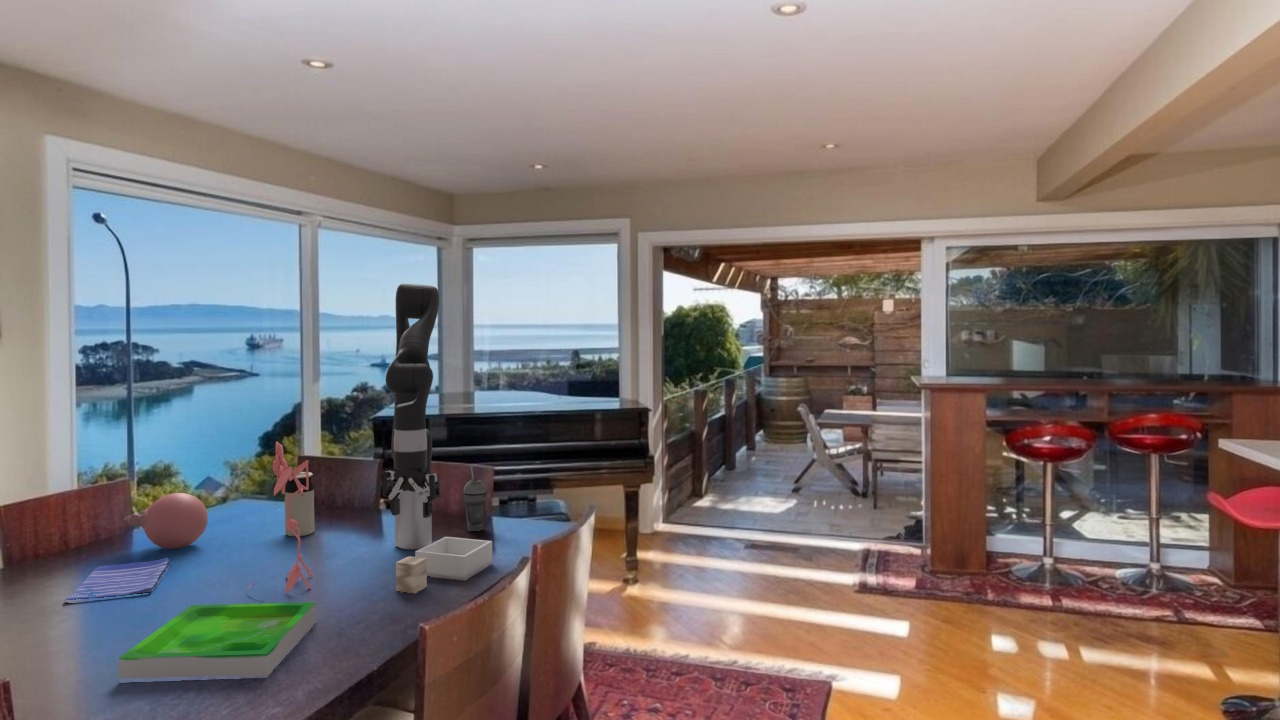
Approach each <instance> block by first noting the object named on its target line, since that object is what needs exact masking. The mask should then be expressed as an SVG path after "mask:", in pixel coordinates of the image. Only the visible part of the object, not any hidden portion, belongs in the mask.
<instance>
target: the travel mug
mask: <svg viewBox="0 0 1280 720" xmlns="http://www.w3.org/2000/svg"><path fill="white" fill-rule="evenodd" d="M313 475H314V473H312V472H310V471H308V479H309V488H308V490H306V489H304V490H303V496H301V494H300V492H298V493H296V494H295V495H294V496H292V497H291V498H289V508H290V519H294V520H296V521H297V523H298V527H297V528H299V529H300V537H306V536H309V535H312V534H313V533H314V532H315V488H314V487H315V486H314V482H313V480H312V478H313ZM289 478H290V477H289ZM296 478H297V479H298V480H299V482H300V483H301V485H302V486H305V487H306V471H301V472H300V473H299V474H298V475H297V476H296ZM297 490H299V489H298V487H297V485H296V482H295V480H294V479H292V480H291V481H289V479H288V481H287V482H286V484H285V493H284V511H285V512H284V515H285V516H284V524H285V525H284V527H285V528H284V530H285V533H284V534H285V535H286V536H288V537H293V538H295V537H296V536H295V535H294V534H293V532H292V531H289V530H287V528H286V523H287V521H288V520H289V518H288V510H287V502H286V499H287V497H288V496H290V495H291V494H293V493H294V492H296V491H297ZM293 531H294V532H295V534H296V535H297V536H298V529H295V530H293ZM296 538H297V537H296Z"/></svg>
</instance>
